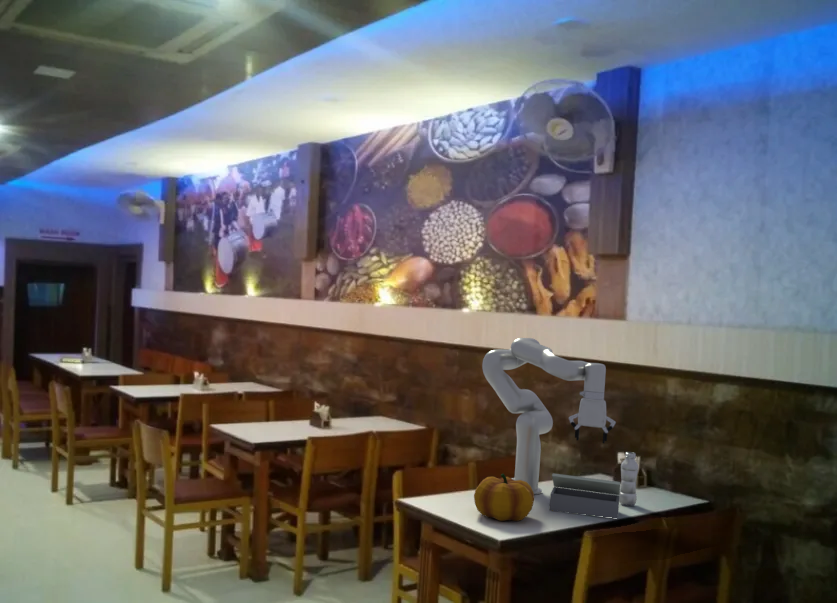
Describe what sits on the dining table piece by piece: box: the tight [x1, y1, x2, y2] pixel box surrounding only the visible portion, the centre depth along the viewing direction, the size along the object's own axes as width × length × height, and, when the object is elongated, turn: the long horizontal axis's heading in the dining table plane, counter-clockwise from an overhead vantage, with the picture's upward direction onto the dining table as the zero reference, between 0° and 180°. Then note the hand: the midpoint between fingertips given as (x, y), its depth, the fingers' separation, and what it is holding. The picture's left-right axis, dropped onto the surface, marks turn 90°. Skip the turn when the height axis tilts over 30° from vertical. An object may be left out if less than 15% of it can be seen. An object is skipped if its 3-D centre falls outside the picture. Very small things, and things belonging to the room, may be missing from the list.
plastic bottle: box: [619, 451, 639, 506], centre depth 297 cm, size 6×7×20 cm
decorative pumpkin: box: [473, 473, 535, 522], centre depth 267 cm, size 20×22×15 cm
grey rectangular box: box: [549, 486, 620, 520], centre depth 283 cm, size 24×12×6 cm, turn 74°
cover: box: [551, 473, 621, 495], centre depth 284 cm, size 24×12×1 cm
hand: (590, 441), depth 292 cm, fingers open, 9 cm apart
